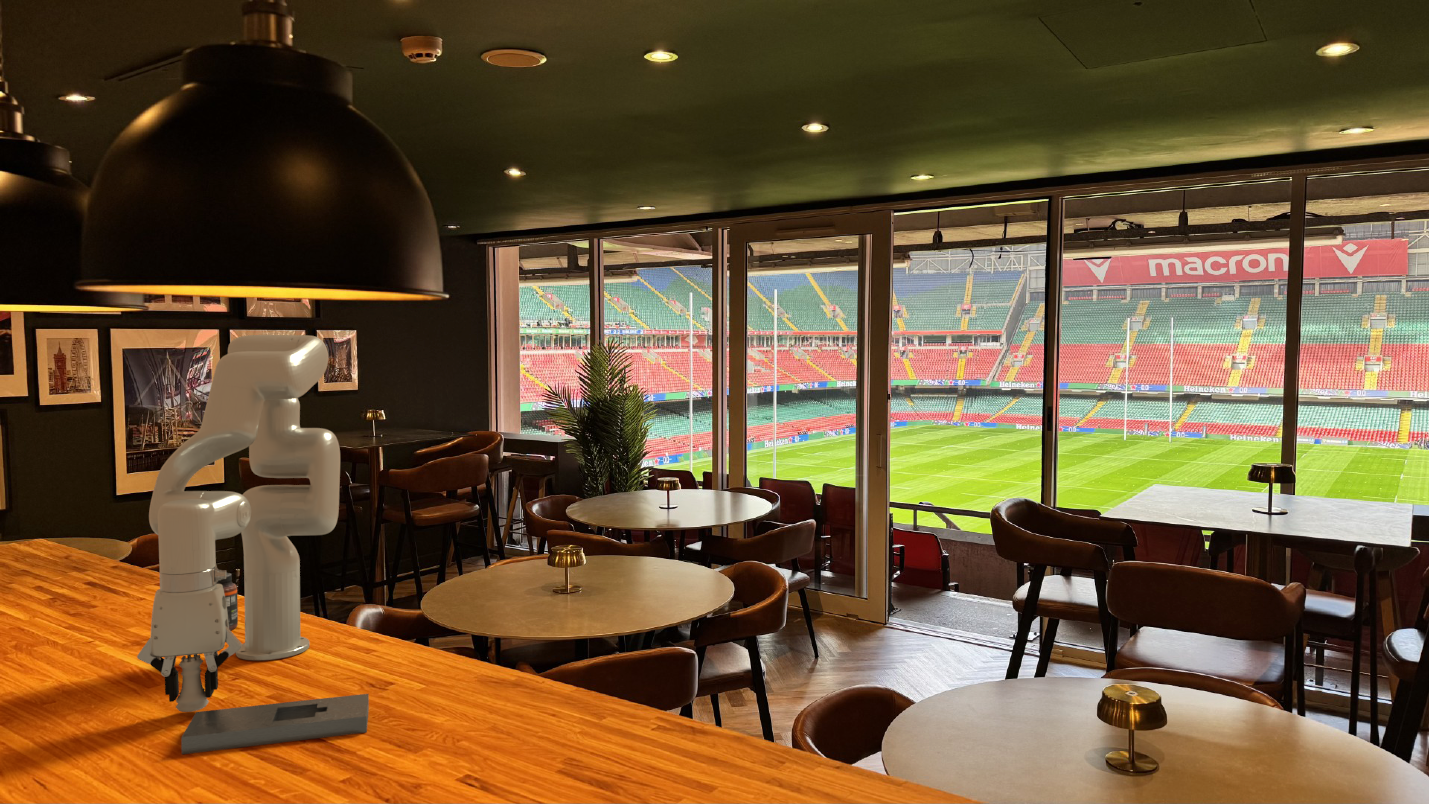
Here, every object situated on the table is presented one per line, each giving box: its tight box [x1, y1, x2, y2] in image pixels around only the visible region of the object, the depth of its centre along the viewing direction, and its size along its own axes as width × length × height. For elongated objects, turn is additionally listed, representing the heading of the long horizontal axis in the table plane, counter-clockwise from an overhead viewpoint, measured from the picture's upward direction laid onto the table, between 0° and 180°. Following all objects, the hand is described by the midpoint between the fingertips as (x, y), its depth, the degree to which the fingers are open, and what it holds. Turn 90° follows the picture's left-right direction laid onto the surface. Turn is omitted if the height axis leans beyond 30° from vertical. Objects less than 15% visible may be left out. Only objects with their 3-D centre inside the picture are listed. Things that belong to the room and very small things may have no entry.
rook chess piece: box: [175, 654, 210, 713], centre depth 141 cm, size 4×4×8 cm
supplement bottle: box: [216, 572, 239, 631], centre depth 188 cm, size 6×6×11 cm
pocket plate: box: [180, 693, 370, 755], centre depth 135 cm, size 10×24×2 cm, turn 109°
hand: (192, 695), depth 141 cm, fingers closed on rook chess piece, 4 cm apart
